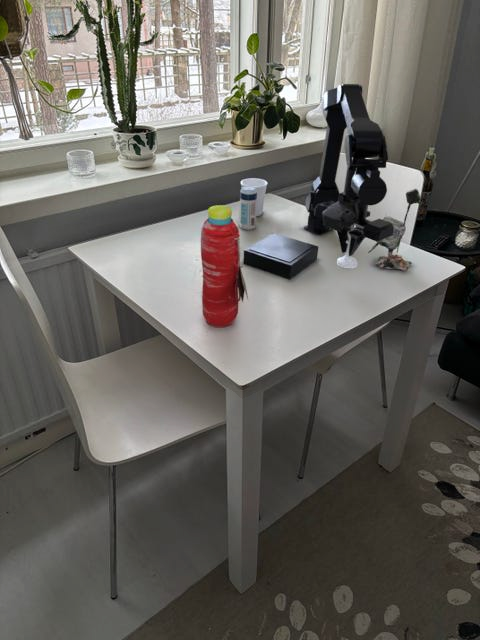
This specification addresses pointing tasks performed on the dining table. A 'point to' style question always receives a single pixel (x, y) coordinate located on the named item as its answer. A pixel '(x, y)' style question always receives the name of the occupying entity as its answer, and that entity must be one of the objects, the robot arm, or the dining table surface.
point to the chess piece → (347, 255)
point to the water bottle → (221, 267)
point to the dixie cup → (260, 189)
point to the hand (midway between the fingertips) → (347, 254)
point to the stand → (280, 255)
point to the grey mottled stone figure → (396, 238)
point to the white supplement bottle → (248, 207)
